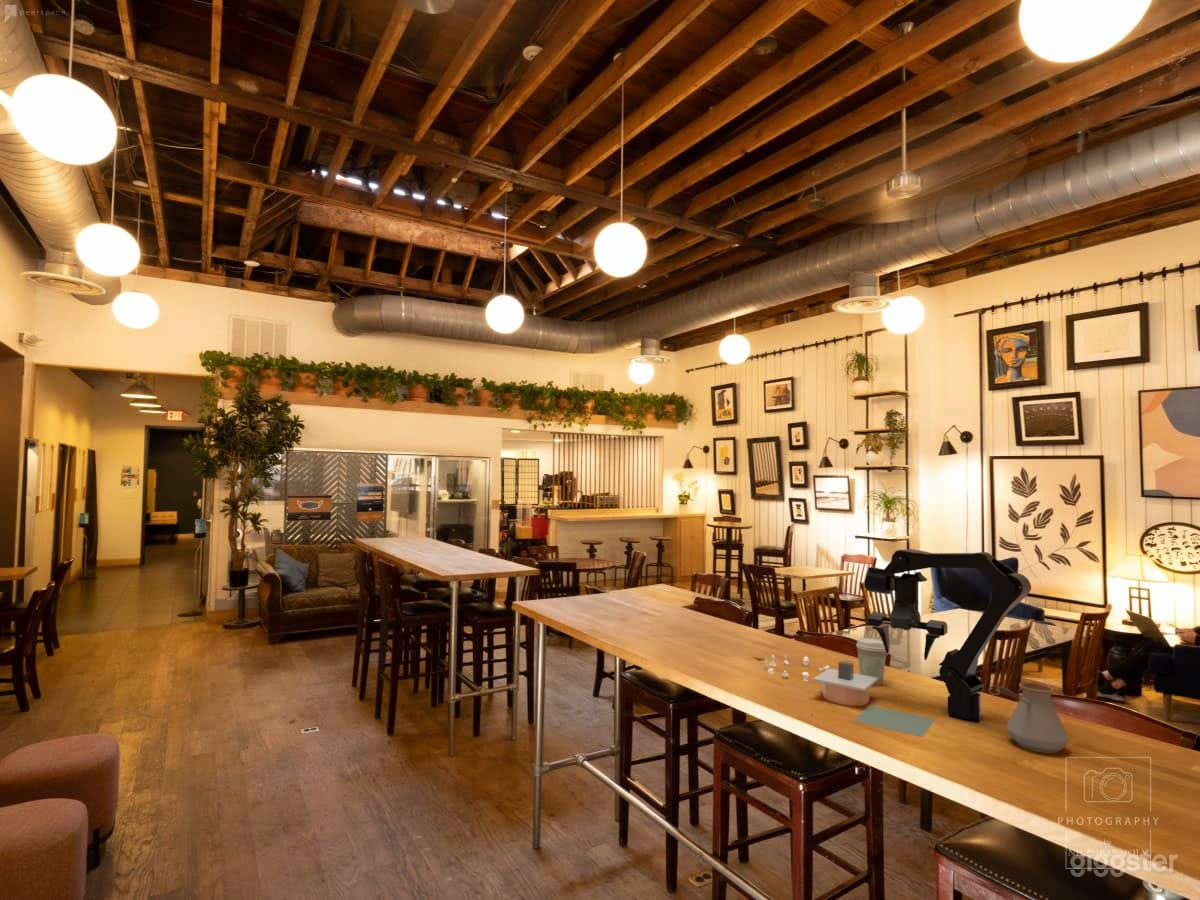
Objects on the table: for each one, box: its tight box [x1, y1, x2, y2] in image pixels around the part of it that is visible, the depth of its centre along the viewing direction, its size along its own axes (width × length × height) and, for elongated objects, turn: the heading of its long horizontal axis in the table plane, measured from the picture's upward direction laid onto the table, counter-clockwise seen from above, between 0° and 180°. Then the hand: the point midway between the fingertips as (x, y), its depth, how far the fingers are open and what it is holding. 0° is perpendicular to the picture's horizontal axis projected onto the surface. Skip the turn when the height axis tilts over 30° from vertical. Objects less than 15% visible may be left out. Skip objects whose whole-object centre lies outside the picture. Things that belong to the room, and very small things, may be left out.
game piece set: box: [764, 654, 831, 682], centre depth 197 cm, size 19×20×4 cm
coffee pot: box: [988, 682, 1070, 754], centre depth 141 cm, size 21×12×15 cm, turn 117°
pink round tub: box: [822, 683, 870, 707], centre depth 171 cm, size 11×11×5 cm
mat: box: [853, 705, 936, 738], centre depth 155 cm, size 15×15×1 cm
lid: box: [812, 660, 878, 691], centre depth 171 cm, size 13×13×5 cm
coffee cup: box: [855, 637, 887, 687], centre depth 188 cm, size 8×8×12 cm
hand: (906, 656), depth 171 cm, fingers open, 9 cm apart
